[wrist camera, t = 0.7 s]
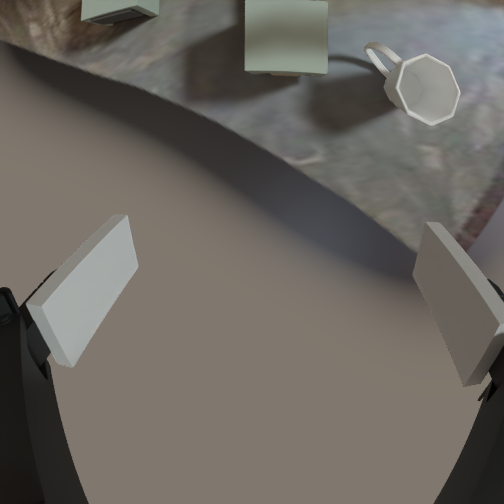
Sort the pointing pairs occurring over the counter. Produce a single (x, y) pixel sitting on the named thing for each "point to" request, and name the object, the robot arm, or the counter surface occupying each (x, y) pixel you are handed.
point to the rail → (286, 37)
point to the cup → (418, 85)
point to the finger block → (116, 10)
